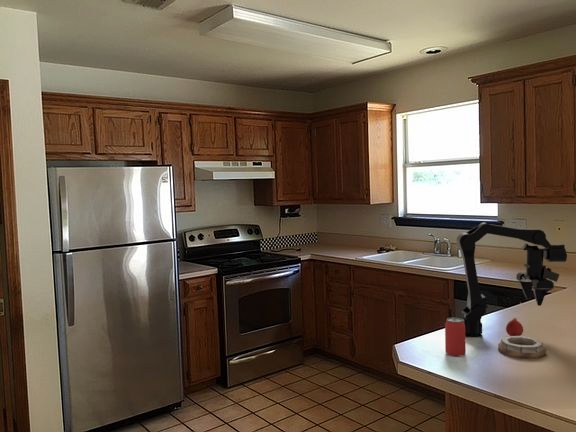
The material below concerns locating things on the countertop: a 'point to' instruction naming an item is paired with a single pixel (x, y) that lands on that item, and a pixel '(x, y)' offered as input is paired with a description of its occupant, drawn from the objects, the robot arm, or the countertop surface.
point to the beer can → (455, 337)
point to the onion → (514, 328)
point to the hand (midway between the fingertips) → (533, 302)
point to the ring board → (522, 355)
